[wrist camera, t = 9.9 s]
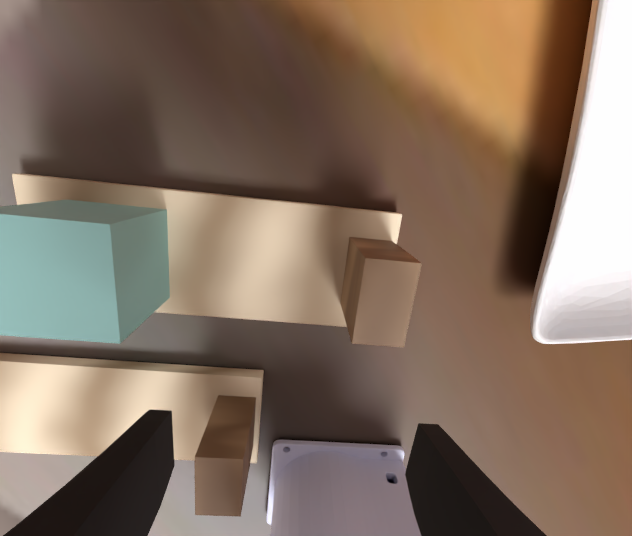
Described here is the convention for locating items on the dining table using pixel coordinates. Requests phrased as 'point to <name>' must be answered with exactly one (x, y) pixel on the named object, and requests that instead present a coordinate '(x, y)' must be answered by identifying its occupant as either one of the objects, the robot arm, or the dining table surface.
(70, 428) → the empty strip
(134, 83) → the dining table surface
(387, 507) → the robot arm
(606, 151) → the salad plate
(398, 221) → the strip
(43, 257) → the teal block
